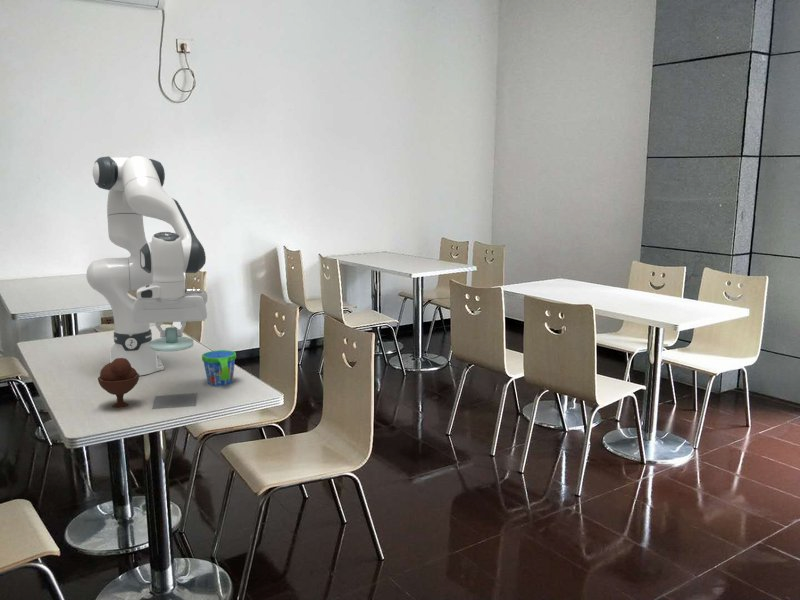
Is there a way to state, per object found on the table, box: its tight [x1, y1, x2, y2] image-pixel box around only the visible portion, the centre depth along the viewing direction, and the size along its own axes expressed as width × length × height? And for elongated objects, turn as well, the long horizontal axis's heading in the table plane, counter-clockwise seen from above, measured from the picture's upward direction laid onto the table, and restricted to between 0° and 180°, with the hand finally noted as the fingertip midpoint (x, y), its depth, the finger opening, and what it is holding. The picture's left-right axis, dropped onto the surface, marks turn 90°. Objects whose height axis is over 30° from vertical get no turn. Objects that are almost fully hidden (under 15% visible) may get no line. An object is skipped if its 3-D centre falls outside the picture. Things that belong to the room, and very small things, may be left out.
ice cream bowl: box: [97, 358, 140, 409], centre depth 199 cm, size 11×11×15 cm
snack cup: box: [201, 349, 237, 387], centre depth 222 cm, size 16×10×10 cm
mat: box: [151, 392, 198, 410], centre depth 205 cm, size 12×12×1 cm
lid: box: [150, 326, 194, 352], centre depth 201 cm, size 12×12×5 cm
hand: (171, 336), depth 201 cm, fingers closed on lid, 3 cm apart
